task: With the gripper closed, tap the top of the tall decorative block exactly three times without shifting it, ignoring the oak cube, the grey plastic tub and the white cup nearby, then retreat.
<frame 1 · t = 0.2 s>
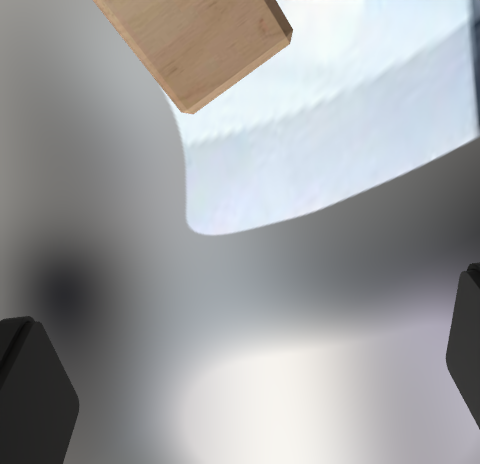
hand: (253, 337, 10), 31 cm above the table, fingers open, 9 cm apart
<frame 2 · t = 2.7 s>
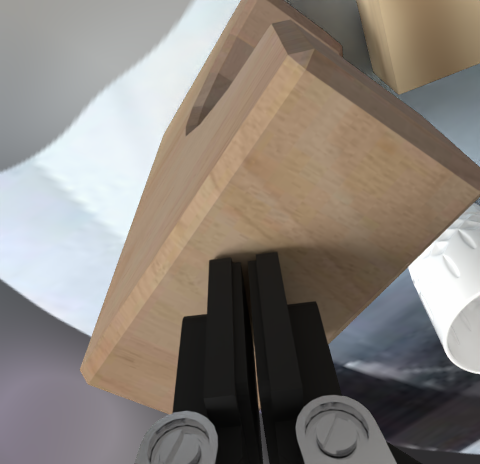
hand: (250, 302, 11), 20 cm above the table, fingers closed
decorative block: (241, 88, 28), on the table, touching gripper
white cup: (442, 234, 35), on the table
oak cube: (405, 14, 26), on the table
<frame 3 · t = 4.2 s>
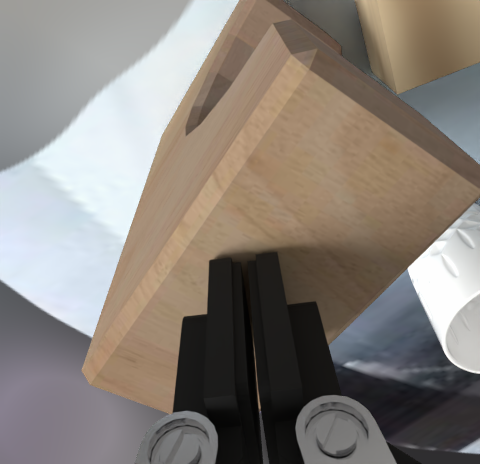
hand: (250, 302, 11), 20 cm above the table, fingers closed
decorative block: (239, 88, 28), on the table, touching gripper
white cup: (441, 234, 35), on the table
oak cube: (403, 14, 26), on the table
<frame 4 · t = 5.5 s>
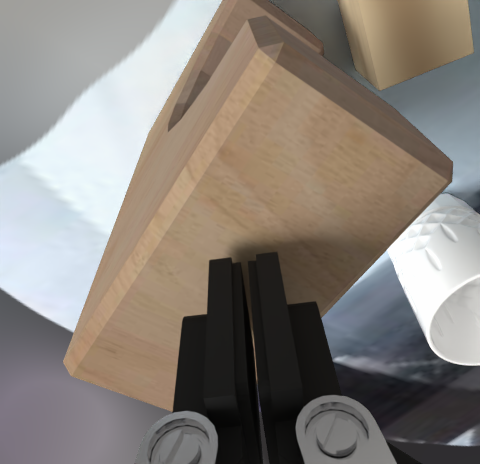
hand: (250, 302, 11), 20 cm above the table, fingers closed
decorative block: (225, 86, 29), on the table
white cup: (426, 229, 35), on the table
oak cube: (385, 12, 27), on the table
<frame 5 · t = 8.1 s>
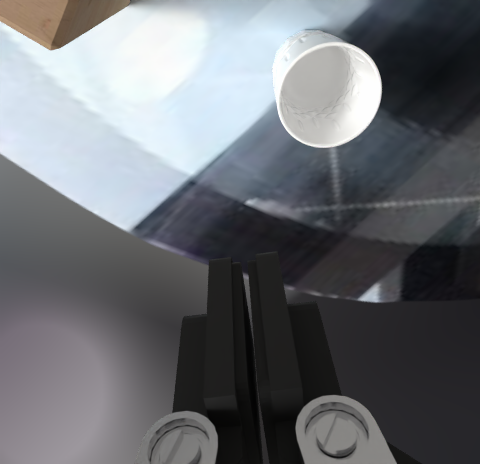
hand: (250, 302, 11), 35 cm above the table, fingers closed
white cup: (307, 67, 42), on the table
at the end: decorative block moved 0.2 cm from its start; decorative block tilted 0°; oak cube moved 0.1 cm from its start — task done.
